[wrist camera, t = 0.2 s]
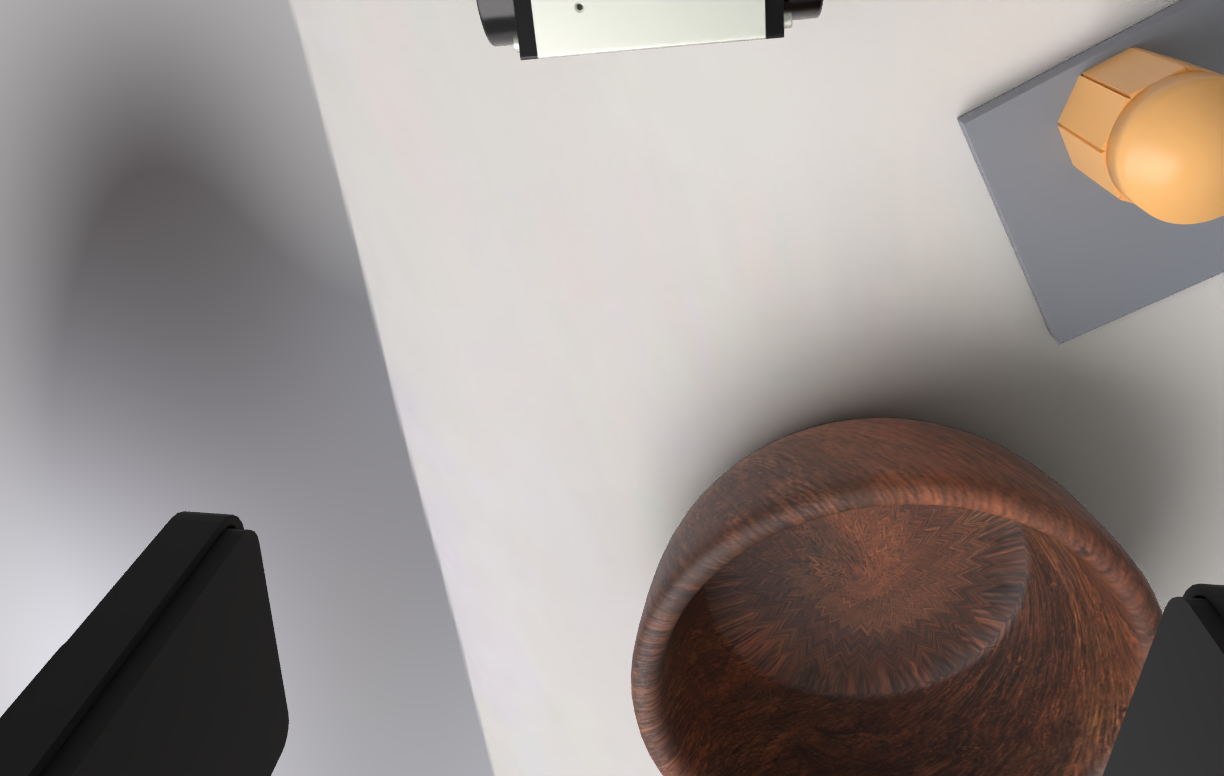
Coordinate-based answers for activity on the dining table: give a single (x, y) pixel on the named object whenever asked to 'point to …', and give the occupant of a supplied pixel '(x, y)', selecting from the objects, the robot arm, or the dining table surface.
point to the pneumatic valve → (633, 23)
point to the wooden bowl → (889, 615)
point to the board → (1092, 189)
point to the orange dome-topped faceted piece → (1150, 134)
